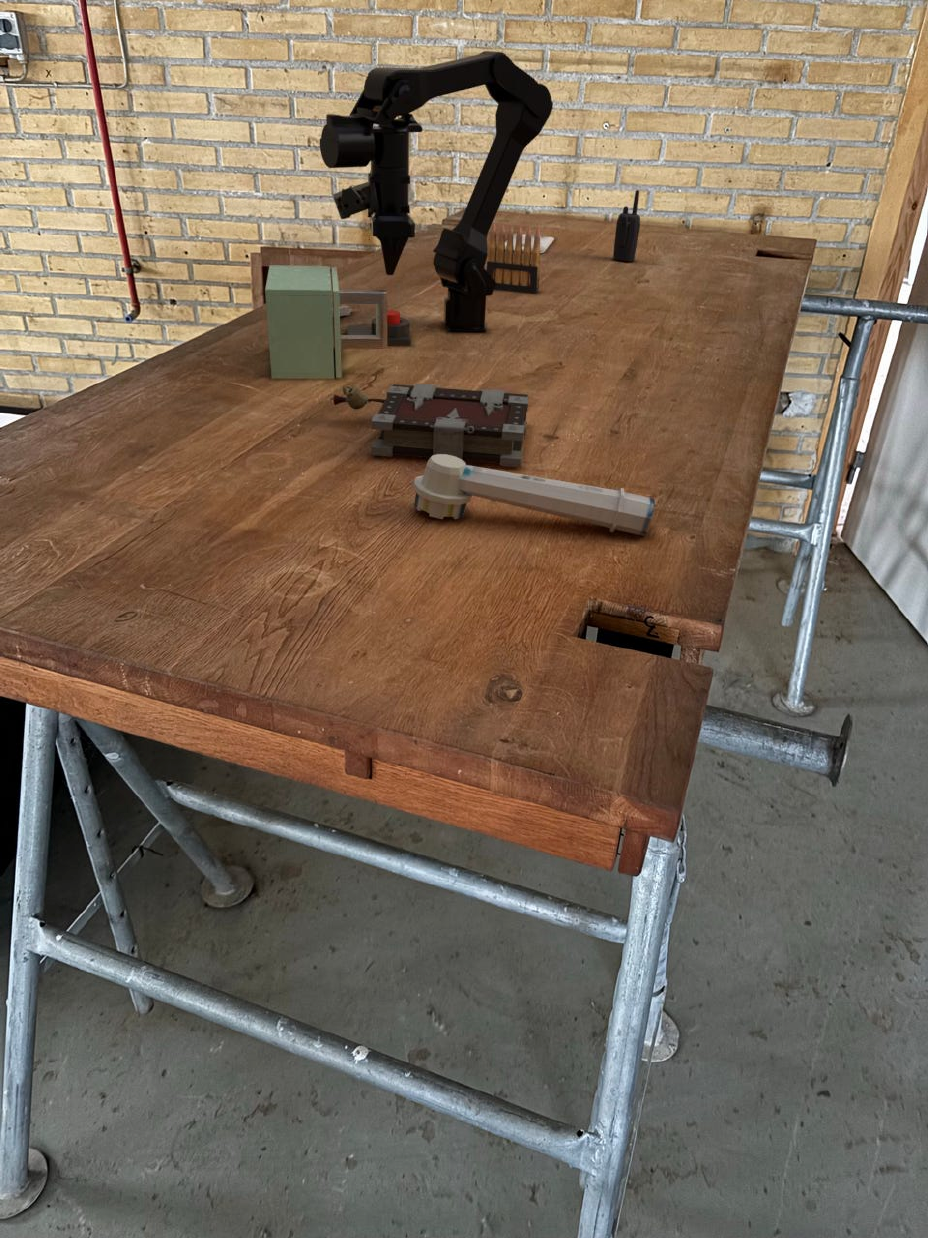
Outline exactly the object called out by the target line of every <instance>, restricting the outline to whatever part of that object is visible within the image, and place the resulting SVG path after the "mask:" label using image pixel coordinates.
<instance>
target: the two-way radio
mask: <svg viewBox="0 0 928 1238" xmlns="http://www.w3.org/2000/svg"><path fill="white" fill-rule="evenodd" d="M639 198H640V190H639V189H636V190H635V193H634V199H633V206H632V212H631V213H630V212H629V206H624V207H623V209H622V212H621V213H619V215H618V217H617V220H616V225H615V234H614V242H613V254H612V259H614V260H615V261H621V262H622V261H623V262H627V263H631V262H634V261H635V259H636V253H637V247H638V241H639V234H640V228H641V217H640V215H639V214H638V206H639Z"/></svg>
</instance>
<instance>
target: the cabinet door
mask: <svg viewBox="0 0 928 1238" xmlns="http://www.w3.org/2000/svg"><path fill="white" fill-rule="evenodd" d="M331 293H332V307H333V317H332V322H333V350H334V368H335V378H336V379H342V350H386V349H388V346H387V310H388V291H387V290H385V289H340V287H339V276H338V267H336V266H332V267H331ZM340 305H375V318H376V335H347V334H341V316H340V311H339V307H340Z"/></svg>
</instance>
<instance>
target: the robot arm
mask: <svg viewBox="0 0 928 1238" xmlns="http://www.w3.org/2000/svg"><path fill="white" fill-rule="evenodd" d="M363 85H364V86H363V90H362V91H361V93H360V95H359V97H358V98H357V100H356V102H355V104H354V106H353V108H352V109H351V110H350V113H349V115H340V114H335V113H334V114H333V113H327V114H326V116H325V120H326V122H325V123H326V124H324V125H323V128H322V130H321V134H320V138H319V151H320V156H321V160H322V161H323V164H324V165H325V166H326V167H327V168H329V169H343V168H344V169H346V168H366V167H368V166H369V164H370V170H369V172H368V173H367V181H366V182H363V183H360V184H357V185H354V186H352V185H349V187H347V188H342V189H341V191H337V192H336V193H334V194H333V201H334V203H335V206H336V209H337V212H338V215H339V218H340V220H346V219H349V218H351V216H353V215H356V214H358V213H360V212H364V211H366V215H367V218H371V223H369V227H370V231H371V234H372V235H371V236H372V237H376V238H377V240H378V241H379V242H380V248H381V252H382V258H383V264H384V270H385V274H386V276H394V274H395V272H396V270H397V267H398V264H399V261H400V259H401V256H402V255H403V252H404V249H405V247H406V245H407V243H408V240H409V239H410V238H415V237H416V223H415V221H414V219H413V218H412V217H411V215H410V213H411V206H410V200H409V199H410V197H409V195H410V193H409V191H410V184H411V175H410V133H422V132H423V126H422V125H421V124H420V123H419V122H418V121H417V120H416V118H415V117H414V115H413V114H412V113H413V112H415V111H416V110H419V109H421V108H422V107H424V105H426V104H427V103H428V102H429V101H430V100H433V99H435V98H437V97H441V96H445V95H449V94H455V93H458V92H462V91H466V90H469V89H473V88H478V87H483V86H485V88H486V91H487V92H488V95H489V96H490V97H491V99H493V101H494V102H495V103H496V104H497V107H496V111H495V116H494V119H495V135H494V138H493V141H492V144H491V146H490V149H489V151H488V153H487V156H486V158H485V160H484V163H483V166H482V168H481V170H480V173H479V175H478V178H477V180H476V183H475V185H474V187H473V190H472V192H471V194H470V197H469V200H468V201H467V205H466V207H465V209H464V212H463V214H462V215H461V216H462V217H461V219H460V221H459V223H458V224H457V225H456V226H455V227H454V228H452V229H449V228H445V227H444V228H443V229H442V230H441V233H440V237H439V240H438V243H437V244H436V246H435V247H434V249H433V250H432V252H433V253H435V254H434V257H433V262H432V264H433V266H434V271H435V272H436V275H437V276H438V277H439V280H440V283H441V287H443V288H447V297H444V298H443V323H444V325H445V326H446V328H447V331H448V332H449V333H487V326H486V310H487V309H486V308H487V296H488V297H489V296H492V295H493V294H494V291H495V289H494V288H495V285H496V282H495V281H494V279H493V278H492V277H491V276H490V274H489V273H488V272H487V271H486V267H485V266H486V264H487V261H488V235H489V232H490V231H491V228H492V225H493V222H494V220H495V218H496V215H497V213H498V211H499V208H500V206H501V204H502V201H503V199H504V197H505V194H506V192H507V189H508V187H509V184H510V182H511V180H512V177H513V175H514V173H515V171H516V168H517V166H518V163H519V161H520V158H521V156H522V154H523V152H524V150H525V148H526V147H527V146H528V145H529V144H530V143H532V142H533V141H534V139H535V138H537V137H538V136H539V135H540V134H541V132H542V130H543V129H544V127H545V125H546V124H547V122H548V120H549V118H550V117H551V115H552V111H553V107H554V101H553V100H552V94H551V92H550V89H549V88H548V87H547V86H546V85H544V84H542V83H538V81H537V80H536V79H535V78H534V77H533V76H531V75H530V74H528V73H527V72H526V71H525V70H523V69H522V68H520V67H519V66H518V65H517V64H515V62H513V60H512V59H511V57H509V56H508V55H507V54H506V53H505V52H502V51H491V50H484V51H482V52H480V53H479V54H473V55H470V56H466V57H462V58H457V59H453V60H449V61H444V62H440V63H436V64H431V65H427V66H424V67H423V66H422V67H389V66H388V67H375V68H373V69H371V70H369V71H368V73H367V76H366V78H365V81H364V84H363ZM374 125H376V126H374ZM372 215H373V216H372Z"/></svg>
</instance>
